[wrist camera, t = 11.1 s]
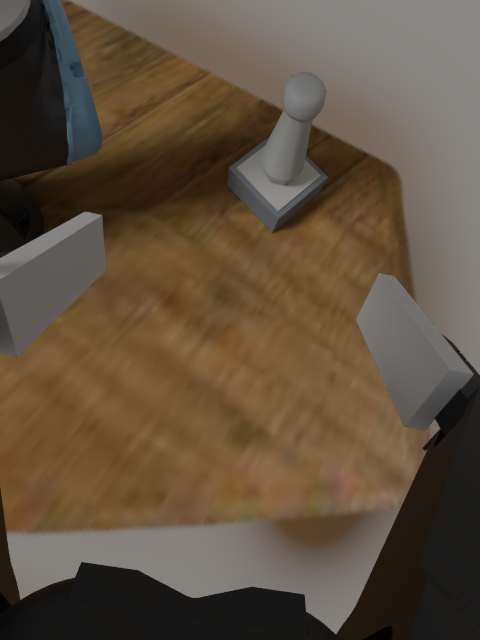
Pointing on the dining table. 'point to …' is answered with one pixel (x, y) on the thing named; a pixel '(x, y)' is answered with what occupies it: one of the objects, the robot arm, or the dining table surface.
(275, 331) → the dining table surface
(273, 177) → the salt shaker
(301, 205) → the slate plinth
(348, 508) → the dining table surface
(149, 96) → the dining table surface
